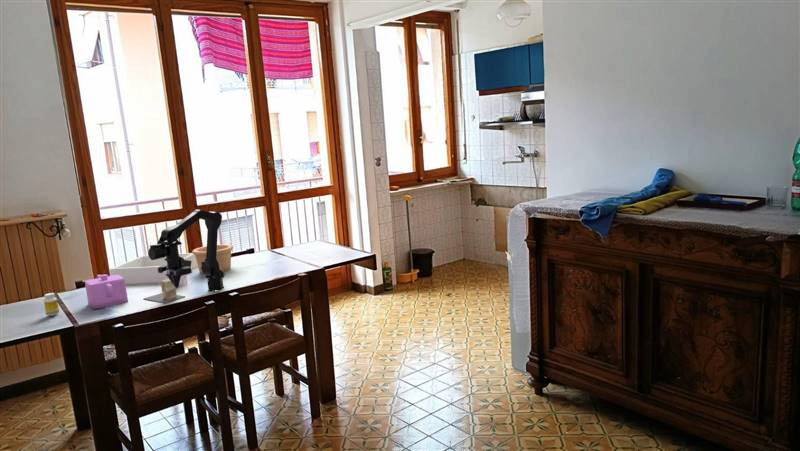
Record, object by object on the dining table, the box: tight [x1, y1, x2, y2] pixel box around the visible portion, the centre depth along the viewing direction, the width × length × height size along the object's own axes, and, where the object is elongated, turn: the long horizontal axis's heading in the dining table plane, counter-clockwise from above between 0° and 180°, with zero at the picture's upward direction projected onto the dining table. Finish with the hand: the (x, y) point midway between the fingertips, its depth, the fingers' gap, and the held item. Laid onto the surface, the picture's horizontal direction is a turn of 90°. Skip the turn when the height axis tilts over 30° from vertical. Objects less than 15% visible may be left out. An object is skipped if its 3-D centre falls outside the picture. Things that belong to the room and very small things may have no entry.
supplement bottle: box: [43, 292, 60, 316], centre depth 267 cm, size 5×5×10 cm
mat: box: [143, 292, 186, 304], centre depth 281 cm, size 18×11×1 cm, turn 55°
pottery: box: [191, 243, 234, 276], centre depth 328 cm, size 22×22×14 cm
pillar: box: [160, 279, 178, 300], centre depth 278 cm, size 4×4×9 cm
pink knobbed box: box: [84, 274, 129, 310], centre depth 280 cm, size 15×25×14 cm, turn 38°
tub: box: [109, 252, 198, 285], centre depth 330 cm, size 34×34×9 cm
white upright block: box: [179, 267, 188, 287], centre depth 305 cm, size 9×8×12 cm
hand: (177, 287), depth 273 cm, fingers closed
